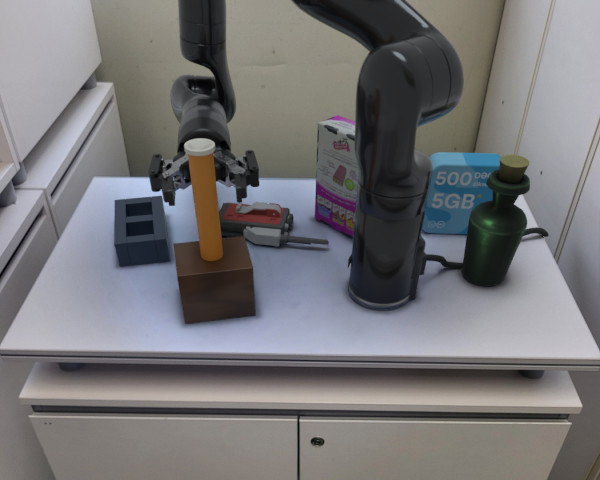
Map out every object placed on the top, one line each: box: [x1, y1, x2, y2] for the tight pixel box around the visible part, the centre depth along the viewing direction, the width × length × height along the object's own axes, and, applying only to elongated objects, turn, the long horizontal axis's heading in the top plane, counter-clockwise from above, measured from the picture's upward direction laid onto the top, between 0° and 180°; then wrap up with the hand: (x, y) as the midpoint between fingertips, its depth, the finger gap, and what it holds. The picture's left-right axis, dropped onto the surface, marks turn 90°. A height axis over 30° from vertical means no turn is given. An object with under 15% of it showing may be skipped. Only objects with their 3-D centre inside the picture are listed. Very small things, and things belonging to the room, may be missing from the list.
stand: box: [172, 236, 257, 325], centre depth 83 cm, size 10×8×8 cm
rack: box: [113, 195, 171, 267], centre depth 95 cm, size 8×14×4 cm, turn 12°
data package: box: [422, 151, 502, 235], centre depth 96 cm, size 12×4×12 cm, turn 88°
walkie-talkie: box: [219, 201, 330, 247], centre depth 97 cm, size 9×4×20 cm
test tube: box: [184, 138, 223, 261], centre depth 74 cm, size 4×4×15 cm
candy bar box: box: [314, 115, 359, 239], centre depth 95 cm, size 11×5×16 cm, turn 44°
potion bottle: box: [461, 154, 531, 287], centre depth 84 cm, size 8×8×18 cm
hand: (205, 197), depth 74 cm, fingers open, 8 cm apart
